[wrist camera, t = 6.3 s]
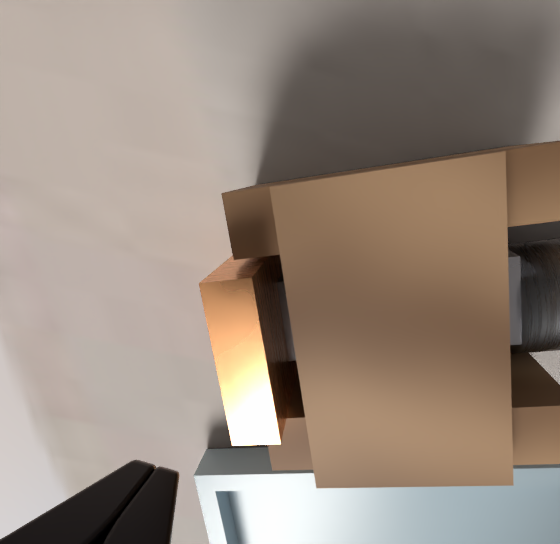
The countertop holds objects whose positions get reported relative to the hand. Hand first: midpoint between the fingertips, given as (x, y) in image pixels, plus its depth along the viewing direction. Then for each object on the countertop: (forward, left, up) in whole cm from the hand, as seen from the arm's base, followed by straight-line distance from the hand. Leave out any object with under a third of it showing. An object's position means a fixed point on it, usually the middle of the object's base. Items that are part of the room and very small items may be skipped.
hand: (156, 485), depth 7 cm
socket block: (0, -5, -10) cm, 11 cm away
